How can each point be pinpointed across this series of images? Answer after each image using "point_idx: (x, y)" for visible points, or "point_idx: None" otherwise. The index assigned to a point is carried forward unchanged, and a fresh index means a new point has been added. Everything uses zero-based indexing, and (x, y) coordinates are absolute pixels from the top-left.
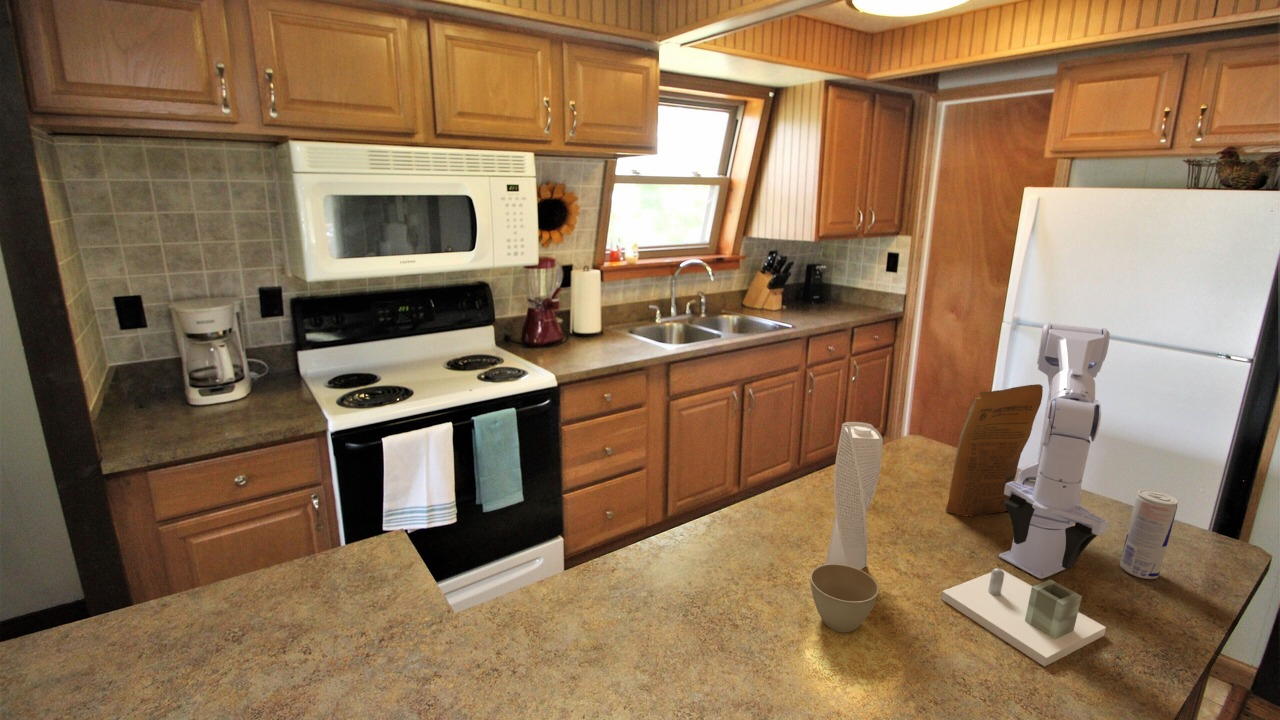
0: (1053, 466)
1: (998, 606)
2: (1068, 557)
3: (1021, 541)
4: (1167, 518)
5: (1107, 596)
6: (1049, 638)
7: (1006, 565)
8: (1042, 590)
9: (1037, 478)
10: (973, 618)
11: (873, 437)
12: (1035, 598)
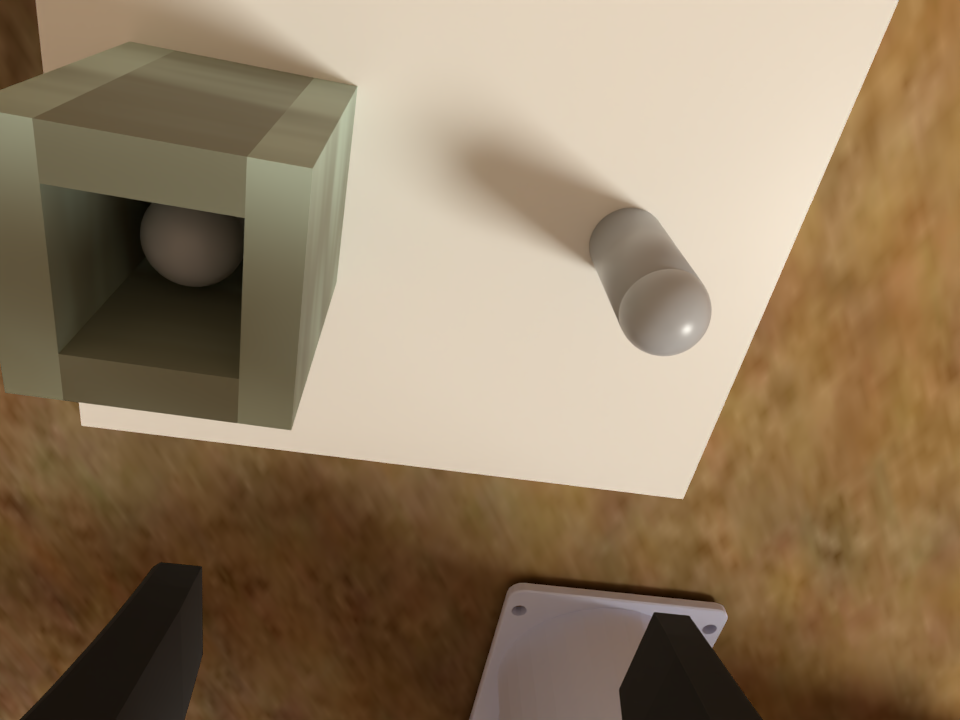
0: None
1: (547, 105)
2: (76, 674)
3: (641, 664)
4: None
5: (276, 664)
6: (154, 18)
7: (671, 571)
8: (220, 192)
9: None
10: None
11: None
12: (274, 132)
